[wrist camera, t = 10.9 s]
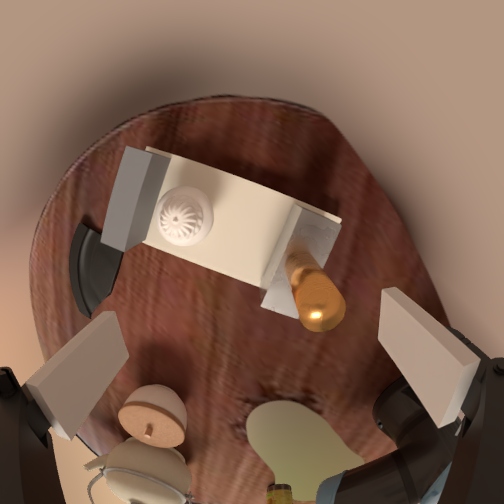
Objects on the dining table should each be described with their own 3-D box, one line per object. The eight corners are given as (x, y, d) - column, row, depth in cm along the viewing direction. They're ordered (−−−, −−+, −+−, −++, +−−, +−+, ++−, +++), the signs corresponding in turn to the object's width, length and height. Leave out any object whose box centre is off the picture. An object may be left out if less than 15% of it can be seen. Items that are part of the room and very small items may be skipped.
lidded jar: (133, 365, 38) (111, 403, 29) (197, 384, 39) (185, 427, 30) (133, 405, 41) (117, 441, 32) (189, 422, 42) (179, 462, 33)
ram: (325, 216, 30) (384, 249, 15) (291, 295, 32) (314, 377, 18) (293, 203, 30) (329, 224, 15) (259, 283, 32) (262, 363, 17)
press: (336, 216, 32) (360, 227, 24) (301, 296, 35) (312, 326, 27) (152, 147, 30) (123, 139, 23) (127, 230, 33) (95, 244, 25)
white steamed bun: (183, 174, 29) (163, 173, 22) (229, 204, 30) (221, 210, 23) (156, 220, 31) (132, 231, 24) (200, 249, 31) (185, 267, 25)
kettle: (205, 444, 43) (187, 550, 19) (201, 479, 48) (188, 560, 24) (91, 411, 43) (43, 495, 18) (106, 453, 47) (75, 523, 23)
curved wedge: (64, 294, 36) (58, 298, 35) (84, 219, 33) (77, 220, 31) (103, 321, 37) (98, 326, 35) (129, 247, 34) (124, 250, 32)
